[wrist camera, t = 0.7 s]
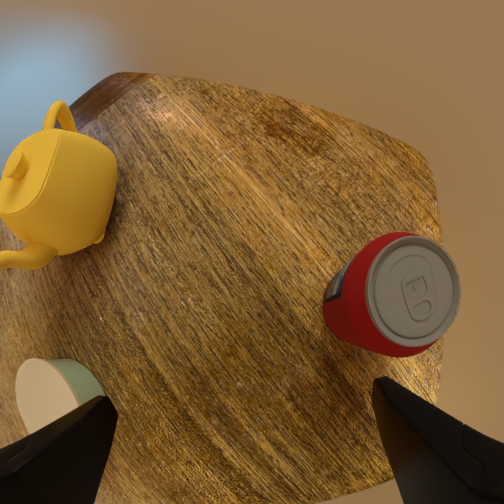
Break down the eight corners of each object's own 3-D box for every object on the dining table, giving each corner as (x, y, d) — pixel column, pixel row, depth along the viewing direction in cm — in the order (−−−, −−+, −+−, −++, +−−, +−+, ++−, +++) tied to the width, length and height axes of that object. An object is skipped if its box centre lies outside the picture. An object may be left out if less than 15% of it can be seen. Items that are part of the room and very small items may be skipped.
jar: (105, 465, 22) (81, 480, 17) (39, 413, 24) (13, 420, 19) (122, 387, 24) (92, 397, 19) (50, 339, 26) (20, 338, 21)
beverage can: (380, 256, 24) (444, 207, 12) (402, 327, 22) (482, 328, 11) (311, 280, 24) (332, 244, 13) (333, 354, 22) (374, 384, 11)
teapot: (35, 293, 28) (-42, 276, 16) (67, 151, 32) (13, 104, 20) (114, 307, 26) (20, 292, 14) (145, 135, 30) (94, 65, 18)
